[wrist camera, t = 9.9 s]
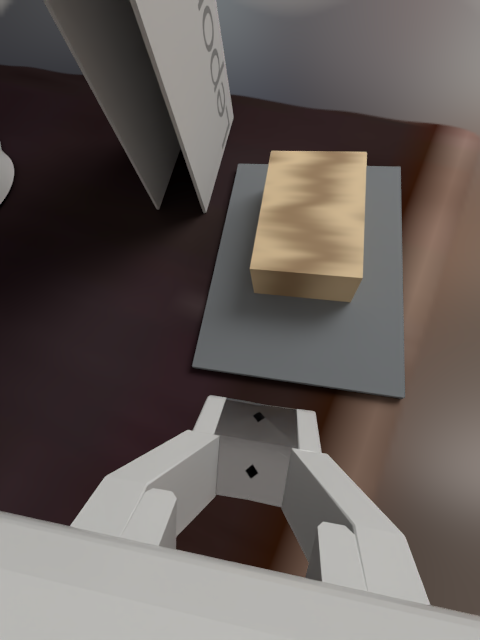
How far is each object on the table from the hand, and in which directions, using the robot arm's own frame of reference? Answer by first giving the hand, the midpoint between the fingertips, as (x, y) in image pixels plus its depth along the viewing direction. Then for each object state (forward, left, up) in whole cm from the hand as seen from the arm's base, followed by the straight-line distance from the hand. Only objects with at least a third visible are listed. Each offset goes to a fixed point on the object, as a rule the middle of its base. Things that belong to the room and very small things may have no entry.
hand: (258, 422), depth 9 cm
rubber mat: (+1, +15, -15) cm, 21 cm away
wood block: (+1, +11, -12) cm, 17 cm away
